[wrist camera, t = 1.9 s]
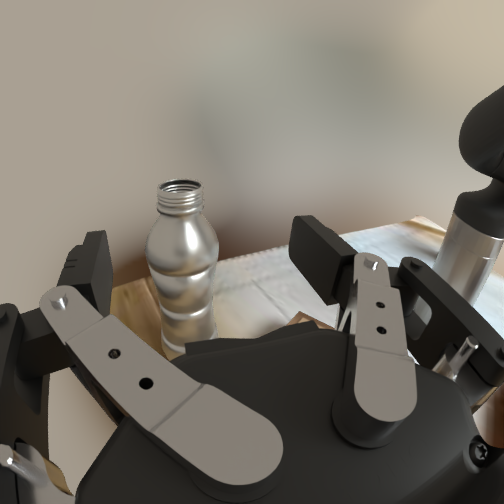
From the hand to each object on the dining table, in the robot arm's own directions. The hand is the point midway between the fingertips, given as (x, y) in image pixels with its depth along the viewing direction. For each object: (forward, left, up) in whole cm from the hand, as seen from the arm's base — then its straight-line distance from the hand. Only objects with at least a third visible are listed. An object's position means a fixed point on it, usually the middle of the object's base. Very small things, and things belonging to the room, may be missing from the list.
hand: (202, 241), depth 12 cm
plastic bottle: (-7, -9, -21) cm, 24 cm away
